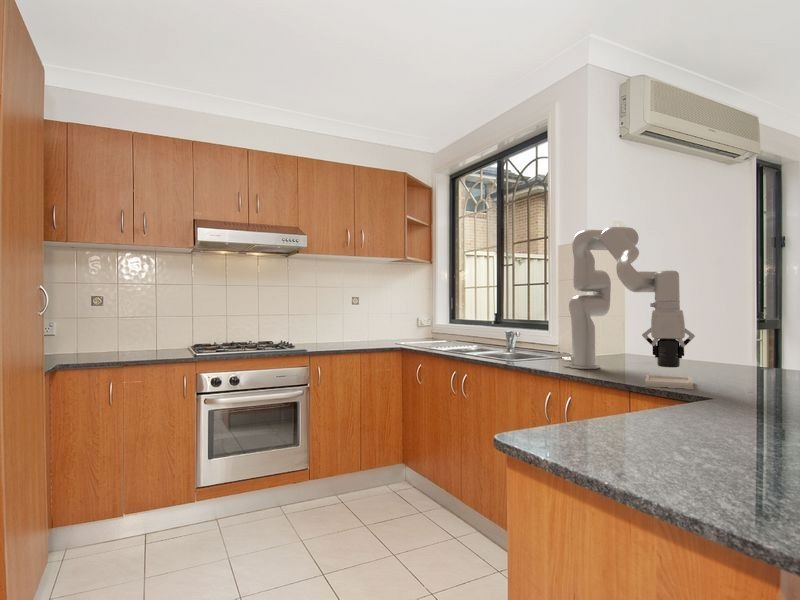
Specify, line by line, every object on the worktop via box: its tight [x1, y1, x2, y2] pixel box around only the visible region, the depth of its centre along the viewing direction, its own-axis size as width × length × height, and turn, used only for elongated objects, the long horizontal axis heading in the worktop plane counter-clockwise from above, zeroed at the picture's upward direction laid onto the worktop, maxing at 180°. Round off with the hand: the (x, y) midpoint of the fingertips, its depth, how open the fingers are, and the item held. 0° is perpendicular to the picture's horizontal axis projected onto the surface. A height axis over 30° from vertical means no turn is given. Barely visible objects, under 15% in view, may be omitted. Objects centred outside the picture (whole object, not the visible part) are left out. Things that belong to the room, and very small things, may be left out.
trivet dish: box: [644, 374, 694, 390], centre depth 164 cm, size 14×14×2 cm
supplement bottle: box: [656, 339, 681, 368], centre depth 164 cm, size 7×7×12 cm
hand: (668, 357), depth 164 cm, fingers closed on supplement bottle, 6 cm apart
